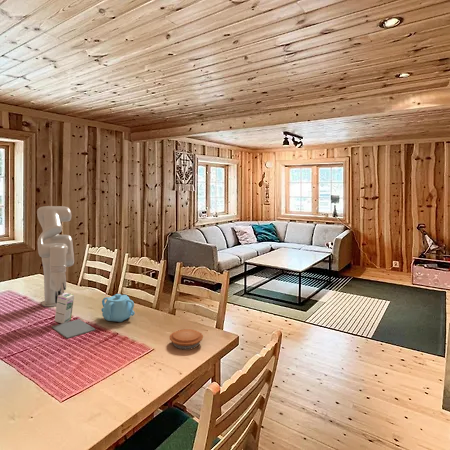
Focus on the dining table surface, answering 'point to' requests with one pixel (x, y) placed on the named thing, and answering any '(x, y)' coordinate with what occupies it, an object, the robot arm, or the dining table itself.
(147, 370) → the dining table surface
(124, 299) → the decorative pot
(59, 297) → the syrup box
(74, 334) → the mat
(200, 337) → the pie
